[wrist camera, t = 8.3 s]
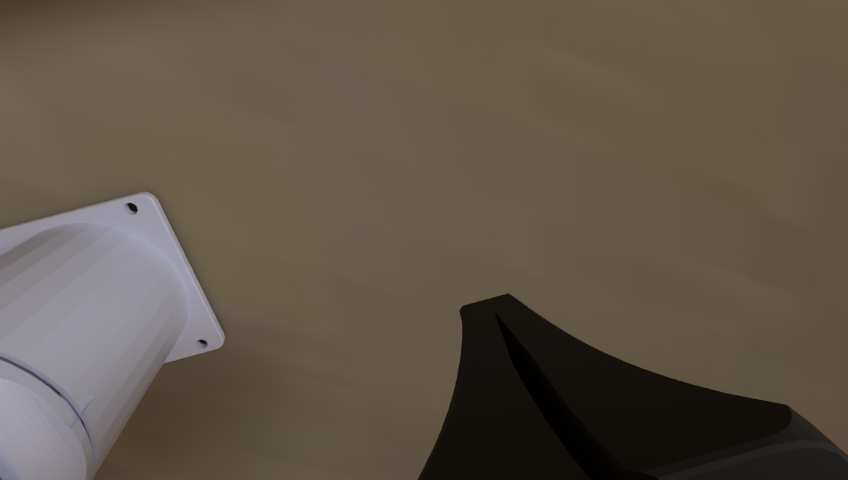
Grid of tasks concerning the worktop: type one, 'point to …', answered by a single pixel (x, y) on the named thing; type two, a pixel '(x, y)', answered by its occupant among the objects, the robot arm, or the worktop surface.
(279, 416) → the worktop surface
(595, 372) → the robot arm
